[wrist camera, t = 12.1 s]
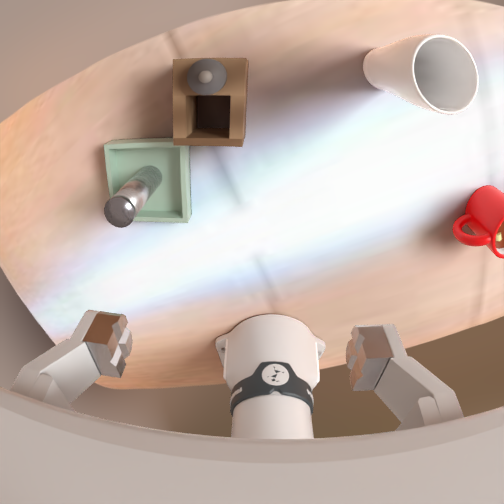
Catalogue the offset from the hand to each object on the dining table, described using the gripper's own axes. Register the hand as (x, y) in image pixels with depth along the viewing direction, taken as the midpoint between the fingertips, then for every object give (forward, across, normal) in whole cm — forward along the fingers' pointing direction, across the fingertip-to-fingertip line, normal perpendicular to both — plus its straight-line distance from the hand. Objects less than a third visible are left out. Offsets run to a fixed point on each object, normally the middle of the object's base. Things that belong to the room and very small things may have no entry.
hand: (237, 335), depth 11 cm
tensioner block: (+30, +5, -5) cm, 31 cm away
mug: (+30, -33, +7) cm, 45 cm away
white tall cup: (+30, -14, -11) cm, 35 cm away
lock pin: (+29, +13, +4) cm, 32 cm away
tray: (+30, +13, +4) cm, 33 cm away
